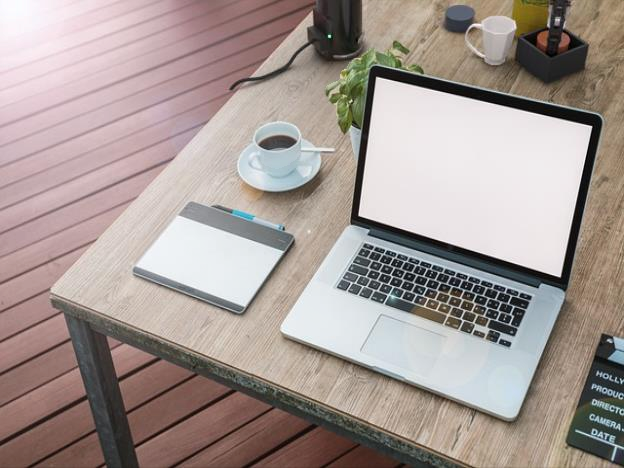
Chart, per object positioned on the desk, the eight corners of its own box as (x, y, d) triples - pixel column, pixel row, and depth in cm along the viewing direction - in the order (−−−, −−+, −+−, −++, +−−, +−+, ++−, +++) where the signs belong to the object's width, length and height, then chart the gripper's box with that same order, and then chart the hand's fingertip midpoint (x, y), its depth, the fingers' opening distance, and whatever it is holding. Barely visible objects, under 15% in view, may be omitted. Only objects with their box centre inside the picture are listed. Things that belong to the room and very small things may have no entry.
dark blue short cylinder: (455, 34, 178) (456, 23, 176) (438, 21, 181) (439, 10, 179) (479, 26, 180) (480, 14, 178) (462, 13, 183) (463, 1, 181)
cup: (506, 72, 167) (511, 37, 162) (458, 61, 171) (461, 27, 165) (516, 53, 172) (521, 18, 166) (469, 43, 175) (472, 9, 169)
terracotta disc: (566, 61, 163) (569, 48, 162) (534, 57, 165) (536, 45, 163) (568, 44, 168) (570, 31, 166) (536, 40, 169) (538, 28, 167)
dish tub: (545, 84, 164) (550, 60, 160) (514, 60, 170) (517, 36, 166) (584, 68, 167) (589, 44, 163) (551, 45, 173) (556, 21, 169)
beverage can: (540, 47, 173) (549, -6, 164) (501, 33, 177) (508, -19, 169) (561, 27, 178) (570, -25, 169) (523, 14, 182) (530, -37, 173)
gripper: (549, -53, 159) (536, 24, 171) (541, -15, 150) (529, 64, 162) (590, -50, 157) (574, 28, 169) (585, -11, 148) (569, 69, 160)
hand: (552, 45), depth 165 cm, fingers closed on terracotta disc, 6 cm apart
